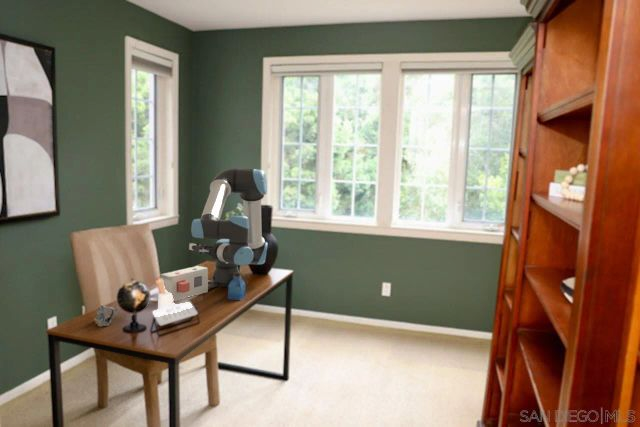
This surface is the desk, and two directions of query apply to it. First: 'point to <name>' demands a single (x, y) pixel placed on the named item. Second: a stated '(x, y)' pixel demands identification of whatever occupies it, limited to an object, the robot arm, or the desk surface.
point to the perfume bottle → (236, 287)
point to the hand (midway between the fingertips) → (190, 246)
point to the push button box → (187, 276)
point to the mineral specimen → (105, 315)
